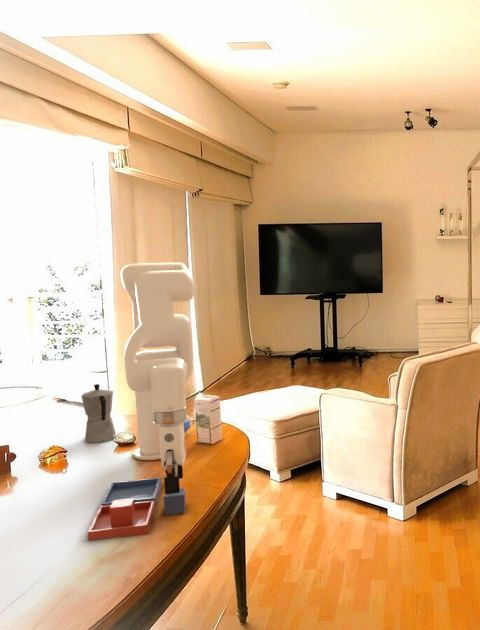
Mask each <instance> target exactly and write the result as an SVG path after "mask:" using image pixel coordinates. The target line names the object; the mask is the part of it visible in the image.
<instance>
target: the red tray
mask: <svg viewBox="0 0 480 630" xmlns="http://www.w3.org/2000/svg"><path fill="white" fill-rule="evenodd" d="M134 506H135V518H134V521H133V524H131V525H122V526H113V527H111V517H110V507H111V505H107V506H101V505H100V506H99V508H98V510H97V512H96V514H95V516H94V518H93V520H92V522H91V524H90V526H89V528H88V530H87V540H88V541H95V540H104V539H112V538H119V537H129V536H137V535H147V534H148V533H149V531H150V527H151V524H152V520H153V516H154V513H155V510H156V506H155V500H154V501H144V502H135V503H134Z"/></svg>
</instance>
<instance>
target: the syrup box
mask: <svg viewBox="0 0 480 630" xmlns="http://www.w3.org/2000/svg"><path fill="white" fill-rule="evenodd" d="M194 412H195V413H194V414H195V418H196V422H195V429H196V431H195V432H196V442H197V443H198V444H204V445H205V444H207V445H214V444H215V443H218V442H219V441H222V440H223V432H222V417H221V415H222V414H221V398H220V396H219V395H209V394H203V395H200V396H198V397H196V398H194Z"/></svg>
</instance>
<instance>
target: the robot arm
mask: <svg viewBox="0 0 480 630" xmlns="http://www.w3.org/2000/svg"><path fill="white" fill-rule="evenodd" d="M120 279H121V283H122V285H123V288H124V290H125V291H126V294H127V295H128V297H129V299H130V302H131V306H132V308H131V309H132V310H131V311H132V325H133V326H132V327H133V333H132V334H131V335H130V337H128V340H127V342H126V344H125V346H124V347H125V348H124V351H123V352H124V353H123V355H124V356H123V358H124V359H123V360H124V372H125V379H126V384H127V386H128V388H129V389H130V390H131V391H133V392H134V396H135V408H136V409H135V410H136V423H137V424H136V425H137V439H138V448H137V449H135V450H134V451H133V457H134V459H137V460H141V461H157V460H160V462H161V467H163V468H164V477H163V483H164V495H165V494H173V493H179V492H180V489H181V488H180V487H181V486H180V480H181V479H183V478H184V470H183V469H184V468H183V466H184V465H185V462H186V457H187V448H186V436H185V433H184V425H183V423H185V422H186V421H187V415H188V412H187V411H188V410H187V398H186V396H187V395H186V383H187V381H188V380H189V379H190V377H192V374H193V372H194V352H193V351H194V349H193V330H192V324H191V320H190V319H189V317H188V316H187V315H185V314H183V313H175V311H174V304H173V303H178V302H179V303H180V302H189V301H191V300H192V299H193V298H194V295H195V281H194V278H193V275H192V273H191V271H190V270H189V267H187V265H186V264H185V263H184V262H176V261H175V262H174V261H173V262H140V263H138V262H137V263H130V264H127V265H126V264H125V266H123V267H122V268H121V271H120ZM167 347H168V348H167ZM169 347H170V348H169ZM171 347H175V348H171ZM141 348H142V349H150V350H143V351H139V350H140V349H141ZM157 348H165V349H157ZM138 351H139V352H138Z"/></svg>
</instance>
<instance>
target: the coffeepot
mask: <svg viewBox="0 0 480 630" xmlns="http://www.w3.org/2000/svg"><path fill="white" fill-rule="evenodd" d="M93 387H94V390H89V391H86V392H83V393H82V394H81V396H80V397H81V400H82V404H83V408H84V412H85V415H86V416H87V420H86V427H85V434H84V435H85V437H84V441H85V442H87V443H94V444H95V443H98V444H99V443H104V442H109V441H111V440H113V439H116V435H117V434H116V430H115V426H114V422H113V418H112V417H111V412H112V409H113V408H112V406H113V395H114V391H113V390H110V389H100V384H99V383H95V384H93ZM115 434H116V435H115ZM113 435H114V436H115V437H114V436H113Z"/></svg>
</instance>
